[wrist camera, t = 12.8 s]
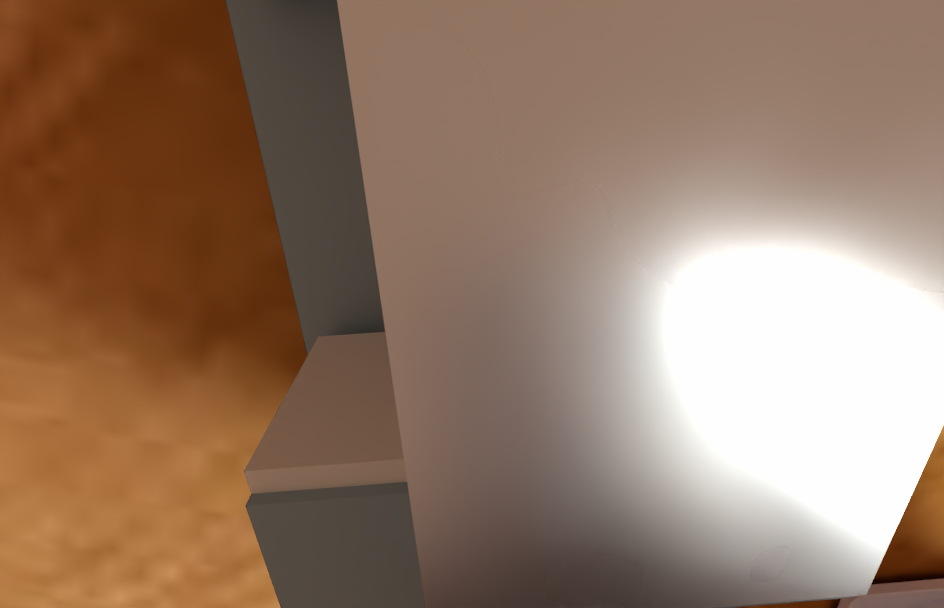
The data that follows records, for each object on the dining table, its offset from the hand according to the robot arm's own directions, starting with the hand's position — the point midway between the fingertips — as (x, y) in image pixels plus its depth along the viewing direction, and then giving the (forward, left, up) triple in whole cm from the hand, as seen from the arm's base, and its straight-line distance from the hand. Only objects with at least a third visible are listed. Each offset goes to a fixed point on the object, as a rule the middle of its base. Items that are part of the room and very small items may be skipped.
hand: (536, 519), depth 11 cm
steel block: (+8, 0, -1) cm, 8 cm away
